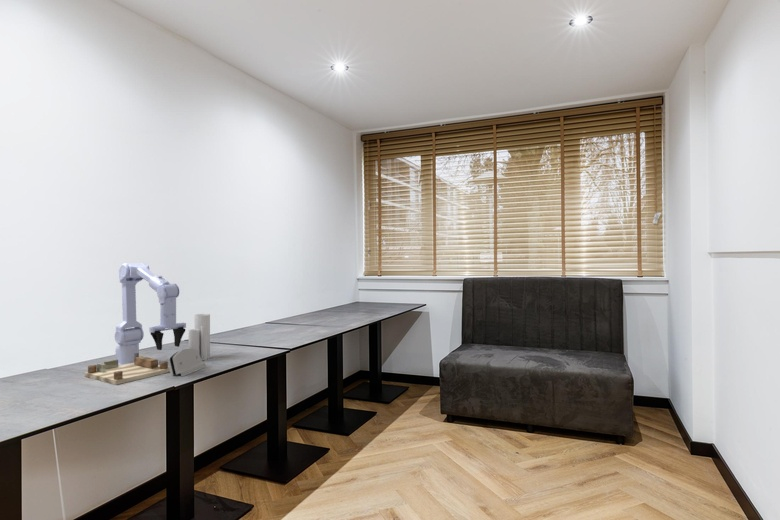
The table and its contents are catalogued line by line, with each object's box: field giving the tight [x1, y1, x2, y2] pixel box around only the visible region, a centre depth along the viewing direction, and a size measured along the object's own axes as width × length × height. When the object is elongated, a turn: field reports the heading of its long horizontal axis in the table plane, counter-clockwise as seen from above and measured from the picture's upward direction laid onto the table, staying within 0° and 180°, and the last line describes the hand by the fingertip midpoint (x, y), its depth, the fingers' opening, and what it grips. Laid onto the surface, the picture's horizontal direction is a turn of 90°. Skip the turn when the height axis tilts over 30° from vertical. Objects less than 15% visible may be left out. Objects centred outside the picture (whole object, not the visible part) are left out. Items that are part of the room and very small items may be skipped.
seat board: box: [84, 352, 170, 386], centre depth 180 cm, size 22×22×6 cm
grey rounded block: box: [167, 348, 207, 378], centre depth 185 cm, size 17×5×10 cm, turn 170°
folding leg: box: [135, 355, 159, 368], centre depth 186 cm, size 12×3×3 cm, turn 59°
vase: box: [188, 313, 211, 361], centre depth 205 cm, size 11×7×20 cm, turn 178°
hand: (168, 347), depth 181 cm, fingers open, 7 cm apart
